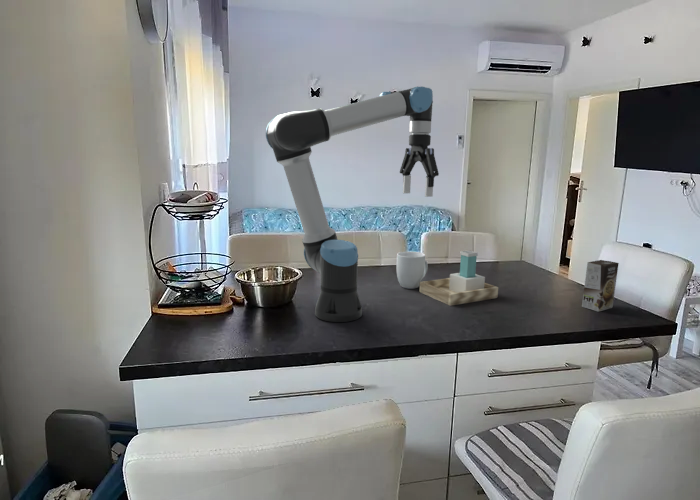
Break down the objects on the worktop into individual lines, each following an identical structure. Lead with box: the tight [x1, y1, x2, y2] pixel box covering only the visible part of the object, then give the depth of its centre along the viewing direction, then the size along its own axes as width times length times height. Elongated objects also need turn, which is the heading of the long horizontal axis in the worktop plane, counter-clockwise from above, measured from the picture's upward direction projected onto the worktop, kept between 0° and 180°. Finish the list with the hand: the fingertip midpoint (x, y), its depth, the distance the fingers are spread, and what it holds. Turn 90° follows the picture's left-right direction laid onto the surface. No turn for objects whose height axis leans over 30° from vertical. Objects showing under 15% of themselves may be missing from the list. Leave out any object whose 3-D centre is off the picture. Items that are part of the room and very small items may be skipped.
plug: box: [459, 250, 479, 278], centre depth 176 cm, size 4×4×12 cm
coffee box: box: [581, 259, 620, 313], centre depth 163 cm, size 9×6×16 cm
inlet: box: [449, 272, 486, 293], centre depth 177 cm, size 9×9×6 cm
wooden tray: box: [419, 277, 499, 307], centre depth 176 cm, size 22×18×4 cm
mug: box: [395, 251, 429, 290], centre depth 186 cm, size 15×11×13 cm
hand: (417, 195), depth 170 cm, fingers open, 13 cm apart
